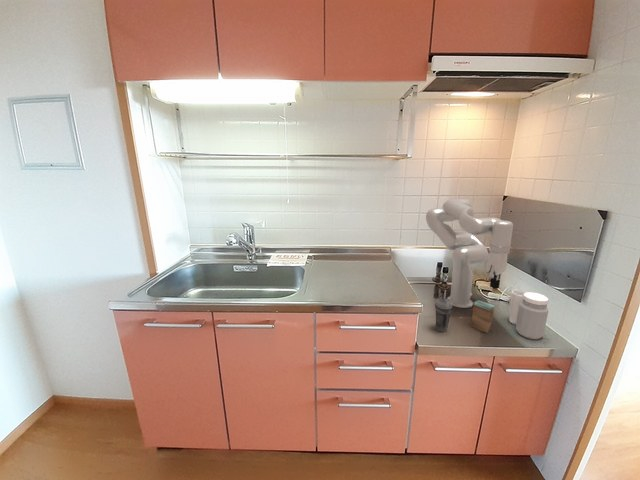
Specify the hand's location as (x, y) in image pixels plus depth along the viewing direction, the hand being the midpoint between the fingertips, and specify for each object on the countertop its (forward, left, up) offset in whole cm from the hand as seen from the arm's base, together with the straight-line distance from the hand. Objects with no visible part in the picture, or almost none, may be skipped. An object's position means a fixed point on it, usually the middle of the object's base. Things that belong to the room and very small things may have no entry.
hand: (494, 287), depth 125 cm
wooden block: (+8, 0, -18) cm, 20 cm away
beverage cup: (+22, -11, -18) cm, 31 cm away
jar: (-3, +15, -18) cm, 24 cm away
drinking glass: (-9, +8, -18) cm, 22 cm away
